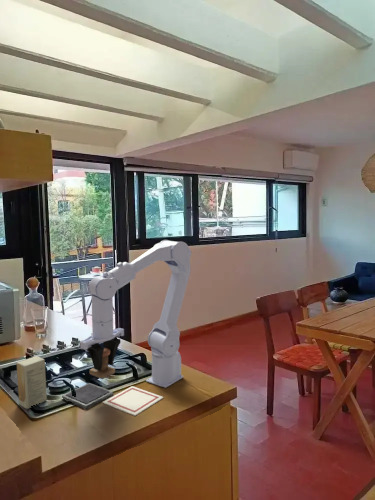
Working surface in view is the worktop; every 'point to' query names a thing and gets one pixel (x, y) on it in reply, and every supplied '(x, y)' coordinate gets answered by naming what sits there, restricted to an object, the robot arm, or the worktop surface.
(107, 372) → the stamp
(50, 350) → the worktop surface
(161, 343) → the robot arm
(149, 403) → the marked sheet
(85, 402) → the ink pad
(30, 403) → the skincare box
